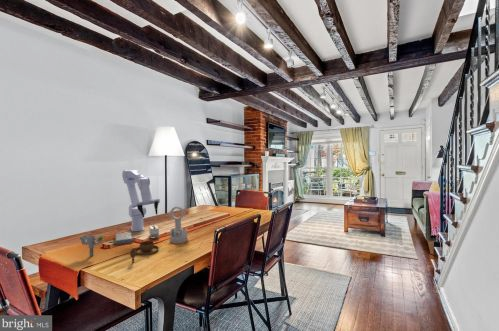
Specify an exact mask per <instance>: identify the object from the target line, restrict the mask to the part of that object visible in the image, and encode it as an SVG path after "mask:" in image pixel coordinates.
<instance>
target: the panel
mask: <svg viewBox="0 0 499 331" xmlns="http://www.w3.org/2000/svg"><path fill="white" fill-rule="evenodd" d="M114 241H115V242H114V245H115V244H116V245H117V246H118V245H126V244H127V245H128V244H133V242H134V239H133V234H132V232H131V231H130V232H121V233H116V234H115V235H114ZM116 245H115V246H116Z"/></svg>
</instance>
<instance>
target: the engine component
mask: <svg viewBox="0 0 499 331" xmlns="http://www.w3.org/2000/svg"><path fill="white" fill-rule="evenodd" d="M176 209H178V210H179V211H180V212H181V215H180V216H179V217H176V216H175V215H174V210H176ZM169 217H170V218H172V219H173V220H174V226H175V227H173V228H170V230H169V235H170V236H169V242H170V243H172V244H181V243H185V242H187V241H188V228H185V230H184V229H183V228H182V218H184V217H186V211H185V210H184V208H183V207H182V206H179V205H178V206H173V208H171V210H169Z"/></svg>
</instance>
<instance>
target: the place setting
mask: <svg viewBox="0 0 499 331" xmlns="http://www.w3.org/2000/svg"><path fill="white" fill-rule="evenodd" d="M154 249H155V250H154ZM159 249H160V248H159V246H158V245H155V243H154V241H153V240H146V241H141V242H140V243H139V246H138V247H135V248H131V250H130V251H129V252H130V253H129V256H130V257H131V261H132V262H131V264H134V263H135V257H136V255H138V256H149V255H152V254H156V253H157V252H158V251H159ZM152 250H153V251H152ZM138 251H141V252H138ZM146 259H149V257H146Z"/></svg>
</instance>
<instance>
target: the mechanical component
mask: <svg viewBox="0 0 499 331" xmlns="http://www.w3.org/2000/svg"><path fill="white" fill-rule="evenodd" d="M79 238H80V242H81V244H82V245H87V246H88V247H87V248H88V249H89V258H92V257H93V256H94V248H95V246H97V245H99V244H101V243H102V240H103V236H98V237H97V238H96V236H95V235H87V234H86V235H85V234H84V235H82V236H80V237H79Z"/></svg>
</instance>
